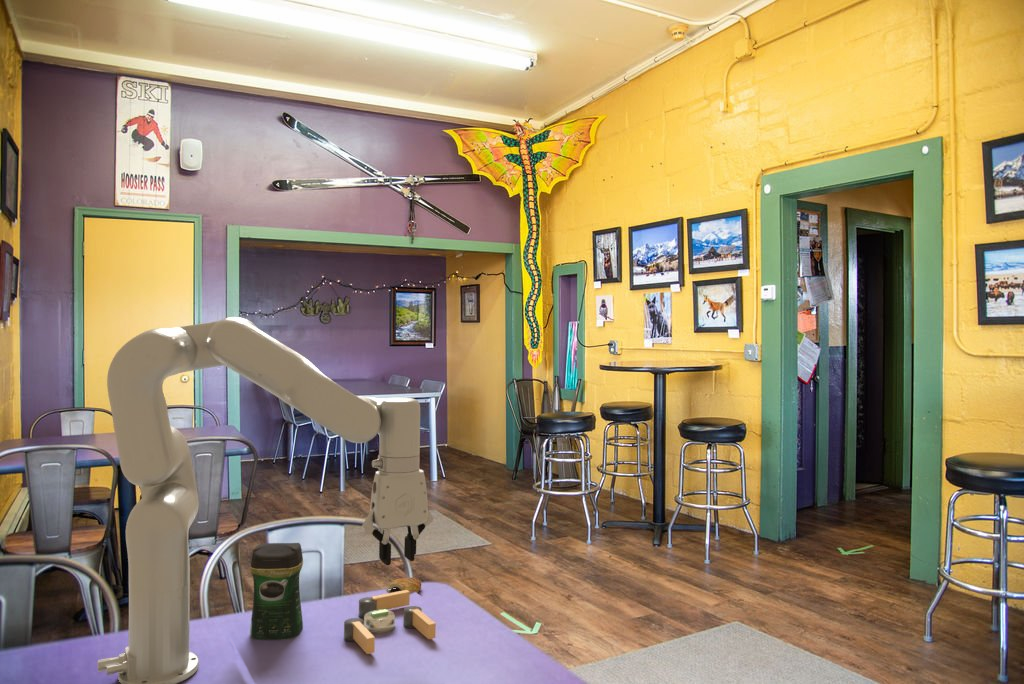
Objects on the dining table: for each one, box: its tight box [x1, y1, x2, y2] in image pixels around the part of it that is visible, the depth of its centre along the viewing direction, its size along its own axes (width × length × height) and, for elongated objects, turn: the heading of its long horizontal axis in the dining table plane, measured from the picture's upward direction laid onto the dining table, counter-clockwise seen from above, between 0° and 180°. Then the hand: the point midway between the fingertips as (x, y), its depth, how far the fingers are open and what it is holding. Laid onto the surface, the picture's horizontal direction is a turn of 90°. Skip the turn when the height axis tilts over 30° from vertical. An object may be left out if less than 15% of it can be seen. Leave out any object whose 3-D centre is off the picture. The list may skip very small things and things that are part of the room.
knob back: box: [358, 590, 411, 619], centre depth 150 cm, size 11×4×3 cm, turn 122°
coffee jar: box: [249, 542, 304, 641], centre depth 140 cm, size 10×8×19 cm
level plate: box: [363, 609, 396, 634], centre depth 143 cm, size 18×18×4 cm
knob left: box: [343, 617, 376, 655], centre depth 134 cm, size 11×4×3 cm, turn 32°
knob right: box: [402, 605, 437, 640], centre depth 141 cm, size 11×4×3 cm, turn 32°
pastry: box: [385, 576, 422, 594], centre depth 165 cm, size 9×7×4 cm
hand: (397, 560), depth 135 cm, fingers open, 4 cm apart
